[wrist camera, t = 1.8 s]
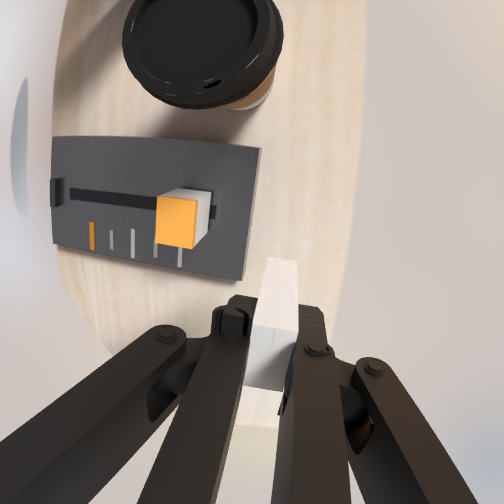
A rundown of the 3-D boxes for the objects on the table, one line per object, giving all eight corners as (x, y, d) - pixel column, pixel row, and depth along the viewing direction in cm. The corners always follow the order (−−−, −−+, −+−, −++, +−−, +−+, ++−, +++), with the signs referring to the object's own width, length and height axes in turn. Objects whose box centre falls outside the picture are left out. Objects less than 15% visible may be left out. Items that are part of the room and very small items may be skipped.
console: (63, 135, 29) (47, 136, 26) (261, 147, 27) (258, 148, 24) (63, 238, 33) (48, 245, 30) (244, 272, 31) (240, 284, 29)
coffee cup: (212, 137, 27) (134, 134, 13) (183, 59, 25) (95, 2, 11) (301, 106, 25) (310, 65, 11) (268, 26, 23) (244, -66, 9)
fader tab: (178, 187, 27) (157, 196, 22) (211, 192, 26) (195, 201, 22) (175, 227, 28) (155, 242, 24) (207, 232, 28) (191, 249, 23)
